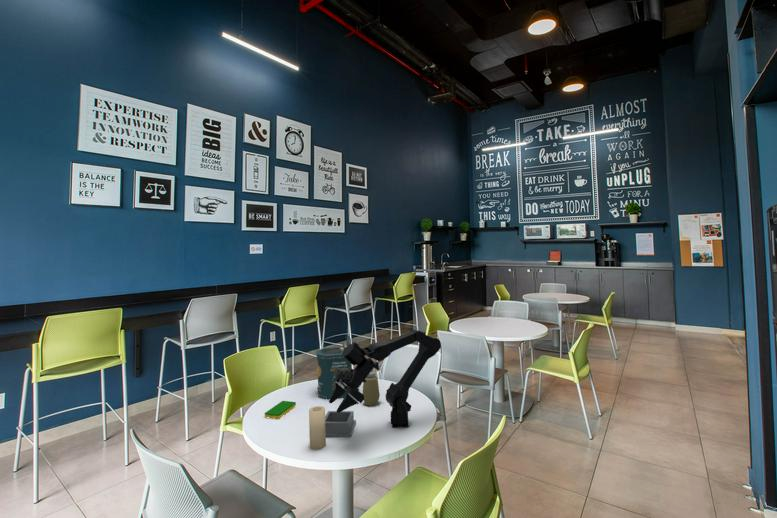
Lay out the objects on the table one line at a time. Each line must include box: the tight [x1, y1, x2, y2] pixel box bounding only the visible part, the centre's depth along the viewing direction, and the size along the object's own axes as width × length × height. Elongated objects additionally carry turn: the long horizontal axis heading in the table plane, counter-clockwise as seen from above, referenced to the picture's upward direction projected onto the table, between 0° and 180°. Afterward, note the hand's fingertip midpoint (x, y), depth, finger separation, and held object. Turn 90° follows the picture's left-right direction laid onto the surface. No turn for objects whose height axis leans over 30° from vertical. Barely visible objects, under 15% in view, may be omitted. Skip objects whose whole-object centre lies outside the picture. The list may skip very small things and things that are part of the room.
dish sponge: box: [264, 400, 297, 420], centre depth 158 cm, size 7×14×2 cm, turn 163°
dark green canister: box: [316, 332, 352, 401], centre depth 178 cm, size 16×16×28 cm
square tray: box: [325, 410, 357, 438], centre depth 140 cm, size 12×12×5 cm
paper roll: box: [308, 405, 327, 451], centre depth 128 cm, size 6×6×13 cm
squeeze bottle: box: [361, 369, 381, 407], centre depth 164 cm, size 8×8×18 cm
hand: (333, 407), depth 131 cm, fingers open, 9 cm apart
